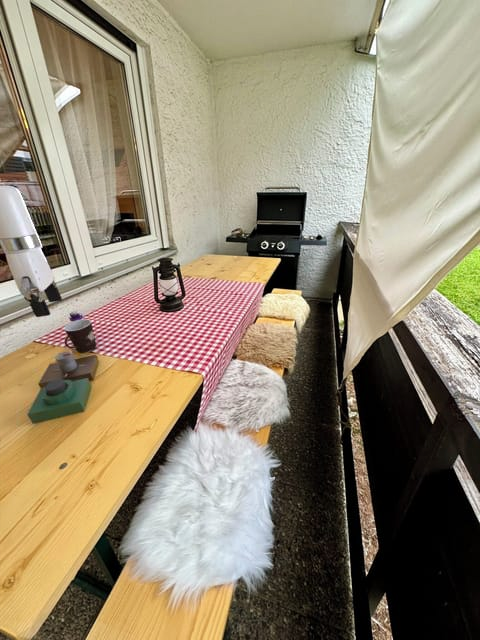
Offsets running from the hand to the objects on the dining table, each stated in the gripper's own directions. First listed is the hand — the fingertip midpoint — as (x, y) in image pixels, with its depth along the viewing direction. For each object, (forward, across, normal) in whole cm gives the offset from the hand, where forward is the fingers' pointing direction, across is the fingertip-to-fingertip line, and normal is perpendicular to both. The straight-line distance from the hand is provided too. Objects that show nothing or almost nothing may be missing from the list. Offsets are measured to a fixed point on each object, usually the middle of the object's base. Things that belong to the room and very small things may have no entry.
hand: (50, 308), depth 70 cm
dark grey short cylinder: (+19, +11, -2) cm, 22 cm away
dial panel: (+24, -2, -3) cm, 25 cm away
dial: (+21, -2, -3) cm, 22 cm away
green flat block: (+24, +11, -2) cm, 27 cm away
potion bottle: (+25, -25, -4) cm, 35 cm away
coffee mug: (+25, -17, -3) cm, 30 cm away
